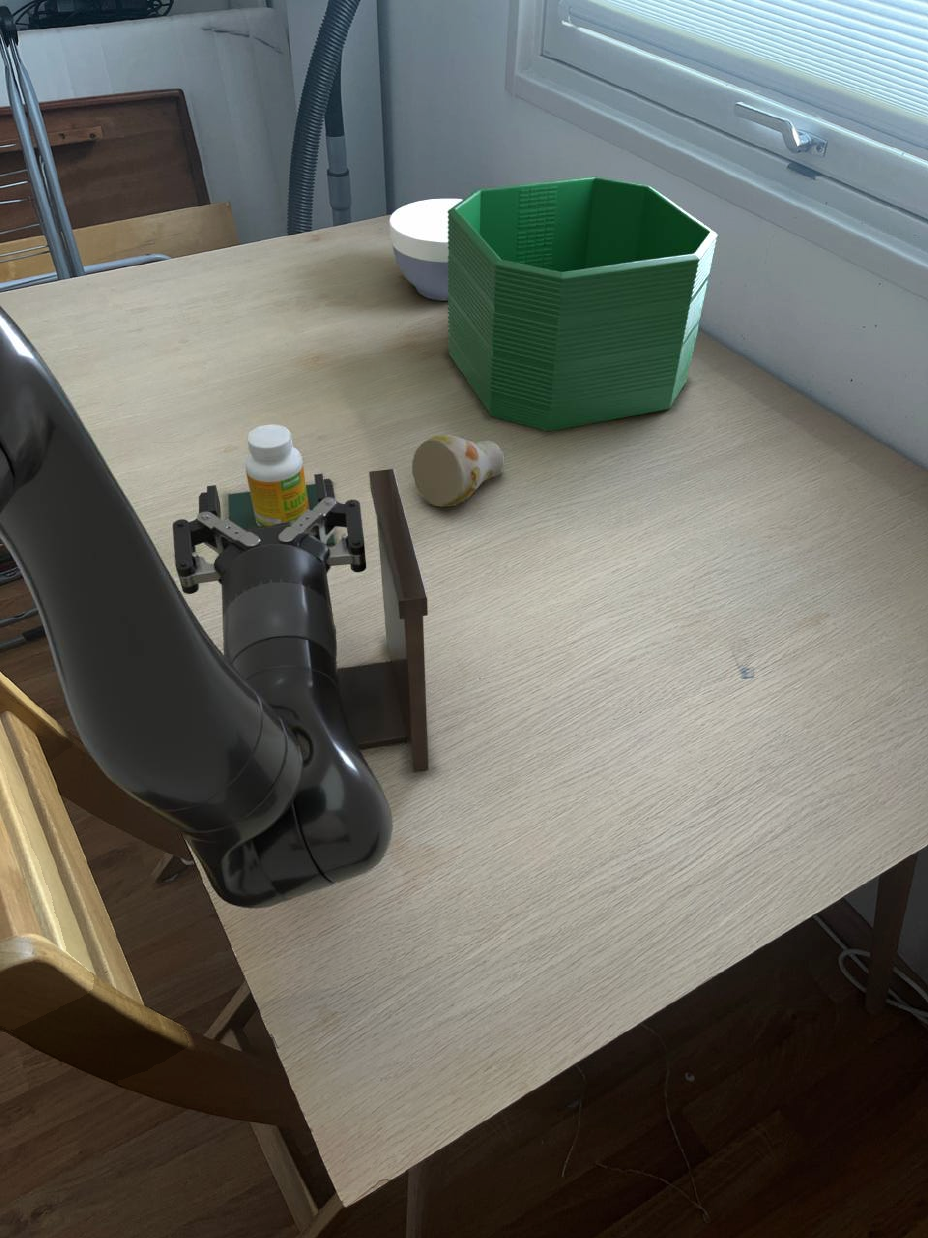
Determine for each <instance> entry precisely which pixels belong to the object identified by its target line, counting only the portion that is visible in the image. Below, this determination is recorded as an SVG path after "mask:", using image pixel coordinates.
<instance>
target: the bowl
mask: <svg viewBox="0 0 928 1238" xmlns="http://www.w3.org/2000/svg"><path fill="white" fill-rule="evenodd" d="M463 199H464V198H463ZM463 199H462V198H433V199H432V198H431V199H425V200H419V201H414V202H412V203H408V204H406V205H403V206H401V207H399V208H398V209H395V211H393V212H392V213H391V215H390V217H389V221H388V223H389V224H388V225H389V233H390V242H391V246H392V249H393V254H394V257H395V258H394V259H395V261H396V263H397V265H398V267H399V268H400V271H401V272H402V274H403V275H404V277H405V279H406V280H407V281H408V282H409V283H410V284H411V285H413V287H415V289H416V291H417V292H418V294H420V295H421V296H423V297H425V298H427V299H430V300H434V301H440V302H449V301H448V298H449V292H448V289H449V287H448V284H449V283H448V280H449V278H448V275H449V273H448V270H449V269H448V266H449V264H448V261H449V259H448V256H449V249H448V246H449V244H448V241H449V239H448V236H449V234H448V231H449V229H448V226H449V224H448V221H449V219H448V215H449V214H448V210H450V209H451V208H452V207H454V206H455V205H456V204H458V203H459V202H461V201H462V200H463Z"/></svg>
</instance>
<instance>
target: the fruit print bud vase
mask: <svg viewBox="0 0 928 1238" xmlns="http://www.w3.org/2000/svg"><path fill="white" fill-rule="evenodd" d="M413 453H414V454H413V456H412V460H411V474H412V478H413V481H414V485H415V488H416V490H417V491H418V492H419V494H421V495H422V497H423V499H424V500H425V501H426V502H427V503H428V504H430V505H432V506H435V507H436V506H437V507H449V506H450V507H453V506H456V505H459V504H461V503H462V502H464V501H466V500H468V498H469V497H471V496H472V495H473V494H474V493H475V492H476V491H477V490H478V488H479V487H480V486H481V485H482V484H483V483H484V482H485V481H486V480H489V479H493V478H495V477H497V476H499V475H500V474H501V472H502V471H503V469H504V464H505V458H504V453H503V450H502V449H501V448H500V447H499V446H498V444H496V443H495V442H494V441H491V440H486V439H485V440H482V441H481V440H480V441H474V442H473V441H470V440H468V439H465V438H462V437H459V436H455V435H450V434H441V435H439V434H438V435H436V436H432V437H430V438H428V439H426V440H424V441H423V442H422V443H420V445H418V447H417V448H416V449H415V451H414V452H413Z"/></svg>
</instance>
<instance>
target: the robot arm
mask: <svg viewBox="0 0 928 1238" xmlns="http://www.w3.org/2000/svg"><path fill="white" fill-rule="evenodd" d="M91 435H92V434H91V433H90V432H89V430H88V429H87V427H86V425H85V424H84V422H83V420H82V418H81V416H80V415H79V413H78V411H77V409H76V408H75V406H74V404H73V402H72V401H71V400H70V398H69V396H68V395H67V394H66V392H65V390H64V388H63V387H62V386H61V384H60V382H59V380H58V379H57V378H56V376H55V374H54V373H53V372H52V370H51V368H50V367H49V366H48V365H47V362H45V360H44V359H43V357H42V356H41V354H40V353H39V351H38V350H37V348H36V347H35V345H34V344H33V343H32V341H30V339H29V338H28V336H27V335H26V334H25V333H24V331H23V329H21V328H20V326H19V325H18V323H16V321H15V320H14V318H12V317H11V316H10V315H9V313H7V311H6V310H5V309H4V308H3V307H2V306H1V305H0V540H1V541H2V542H3V544H4V545H5V547H6V548H7V550H8V551H9V553H10V554H11V556H12V558H13V560H14V561H15V563H16V566H17V567H18V569H19V571H20V572H21V575H22V577H23V579H24V582H25V584H26V586H27V588H28V591H29V592H30V594H31V597H32V599H33V601H34V603H35V606H36V609H37V612H38V615H39V618H40V620H41V624H42V626H43V629H44V632H45V635H46V638H47V641H48V645H49V648H50V651H51V655H52V659H53V662H54V666H55V670H56V673H57V676H58V681H59V683H60V686H61V690H62V693H63V696H64V700H65V702H66V706H67V709H68V712H69V714H70V716H71V719H72V722H73V724H74V726H75V728H76V732H77V733H78V735H79V738H80V740H81V741H82V743H83V746H84V747H85V749H86V751H87V752H88V754H89V755H90V757H91V758H92V760H93V761H94V762H95V763H96V765H97V766H98V768H99V769H100V770H101V771H102V772H103V773H104V775H105V776H106V777H107V778H108V780H110V781H111V782H112V783H113V784H115V785H116V787H118V788H119V789H121V790H122V791H123V792H124V793H126V794H127V795H128V796H130V797H131V798H132V799H134V800H135V801H137V802H138V803H140V804H141V805H143V806H144V807H145V808H147V809H148V810H150V811H152V812H153V813H154V814H155V815H157V816H158V817H160V818H162V819H163V820H164V821H166V822H167V823H169V824H170V825H171V826H173V827H174V828H177V830H178V832H180V834H181V835H182V837H183V838H184V840H185V842H186V843H187V845H188V846H189V847H190V849H191V850H192V852H193V854H194V855H195V857H196V858H197V861H199V864H200V865H201V867H202V870H203V871H204V873H205V876H206V878H207V880H208V882H209V885H210V887H211V888H212V889H213V891H214V892H215V893H216V895H217V896H218V897H219V898H220V899H221V900H222V901H224V902H226V903H227V904H229V905H231V906H234V907H237V908H242V909H250V910H251V909H252V910H258V909H265V908H271V907H274V906H276V905H280V904H283V903H285V902H288V901H291V900H293V899H296V898H299V897H302V896H305V895H308V894H310V893H314V892H317V891H319V890H322V889H325V888H328V887H331V886H334V885H335V884H339V883H342V882H345V881H349V880H351V879H354V878H356V877H359V876H362V875H365V874H366V873H368V872H370V871H372V870H373V869H375V868H376V867H377V866H378V865H379V864H380V863H381V861H382V860H383V859H384V857H385V856H386V854H387V852H388V849H389V847H390V844H391V840H392V835H393V828H394V827H393V824H394V823H393V822H394V821H393V815H392V810H391V806H390V803H389V801H388V798H387V796H386V794H385V792H384V790H383V787H382V786H381V784H380V782H379V780H378V779H377V777H376V775H375V774H374V772H373V770H372V768H371V767H370V765H369V763H368V761H367V759H366V758H365V757H364V755H363V753H362V750H360V749H359V747H358V746H357V743H356V741H355V739H354V737H353V734H352V732H351V730H350V727H349V725H348V722H347V719H346V716H345V712H344V709H343V704H342V698H341V691H340V685H339V678H338V671H337V669H338V662H337V659H338V658H337V656H338V640H337V628H336V625H335V619H334V613H333V606H332V600H331V594H330V586H329V580H328V573H329V572H330V569H331V568H332V567H338V566H346V565H349V566H350V570H351V571H352V572H354V573H362V572H365V571H366V570H367V557H366V555H367V554H366V547H365V546H366V545H365V544H366V543H365V535H364V526H363V518H362V508H361V502H360V501H359V500H357V499H348V500H346V501H345V502H344V503H342V502H338V500H337V499H336V493H335V488H334V482H333V481H332V480H331V478H324V474H323V473H315V474H313V475H314V484H315V485H316V493H317V500H318V505H317V506H316V507H315V508H314V509H313V510H309V509H308V510H306V511H305V512H304V513H303V514H302V515H301V516H300V517H299V518H298V519H297V520H296V521H295V522H294V523H293V524H292V525H290V522H286V523H279V524H275V525H272V526H253V527H248V529H249V530H246V531H245V530H244V529H242V528H241V527H239V526H238V525H236V524H234V523H233V522H231V521H230V520H229V518H225V519H222V509H221V508H222V507H221V506H222V505H221V500H220V496H219V491H218V487H217V485H216V484H214V485H212V484H211V485H207V486H206V491H204V492H201V493H200V494H199V496H198V514H197V516H196V518H195V519H194V520H191V521H188V520H187V519H185V518H181V519H177V520H175V521H174V522H173V523H172V538H173V553H174V566H175V570H176V574H177V576H178V580H179V584H180V586H181V590H180V588H179V587H178V584H177V583H176V581H175V579H174V578H173V576H172V574H171V572H170V571H169V569H168V567H167V565H166V564H165V562H164V560H163V559H162V557H161V555H160V553H159V551H158V550H157V547H156V546H155V543H154V542H153V540H152V538H151V536H150V534H149V533H148V531H147V529H146V528H145V526H144V524H143V522H142V521H141V519H140V517H139V515H138V513H137V512H136V509H135V507H134V506H133V505H132V503H131V501H130V500H129V498H128V497H127V495H126V494H125V492H124V490H123V488H122V487H121V485H120V484H119V482H118V480H117V479H116V477H115V475H114V473H113V471H112V470H111V468H110V466H109V464H108V462H107V461H106V459H105V458H104V456H103V455H102V452H101V451H100V449H99V447H98V445H97V444H96V441H95V440H94V438H93V437H92V436H91ZM339 528H346V533H342V534H341V538H340V539H339V540H338V541H337V544H336V545H335V547H333V548H329V546H327V545H326V543H327V540H328V538H329V537H330V536H331V535H332V534H334V533H335V532H336V531H337V530H338V529H339ZM201 544H202V545H205V546H206V547H208V548H209V549H211V550H212V551H214V552H215V553H216V554H217V556H216V557H215V559H214V562H213V563H210V562H207V561H206V559H205V557H203V556H200V555H199V553H198V552H197V551H196V546H199V545H201ZM211 582H218V583H219V584H220V585H221V608H222V613H221V614H222V645H223V652H222V651H221V649H219V648H218V646H217V645H216V644H215V643H214V641H213V640H212V638H211V637H210V636H209V634H208V633H207V632H206V630H205V629H204V627H203V626H202V624H201V623H200V621H199V620H198V618H197V617H196V615H195V613H194V612H193V610H192V609H191V607H190V605H189V603H188V602H187V600H186V598H185V597H184V595H183V593H184V594H185V595H193V594H196V593H198V591H199V589H200V584H206V583H211ZM181 591H182V592H183V593H182V592H181Z"/></svg>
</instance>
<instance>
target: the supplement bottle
mask: <svg viewBox="0 0 928 1238" xmlns="http://www.w3.org/2000/svg"><path fill="white" fill-rule="evenodd" d="M246 439H247V445H248V450H249V453H248V454H247V456H246V458H245V461H244V468H245V475H246V479H247V483H248V488H249V492H250V494H251V499H252V504H253V509H254V514H255V518H256V522H257V524H258V526H272V525H275V524H279V523H286V522H290V525H292V524H293V523H294V522H295V521H296V520H297V519H298V518H299V517H300V516H301V515H302V514H303V513H304V512H305V511H306V510H308V509H309V502H308V495H307V488H306V485H307V482H306V475H305V469H304V468H305V467H304V462H303V457H302V454H301V453H300V451H299V450H298V449H297V448H296V447H294V446H293V441H292V434H291V432H290V430H289V429H288V428H287V427H286V426H283V425H279V424H264V425H259V426H257V427H255V428H253V429H252V430H251V431H249V433H248V434H247V438H246Z"/></svg>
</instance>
